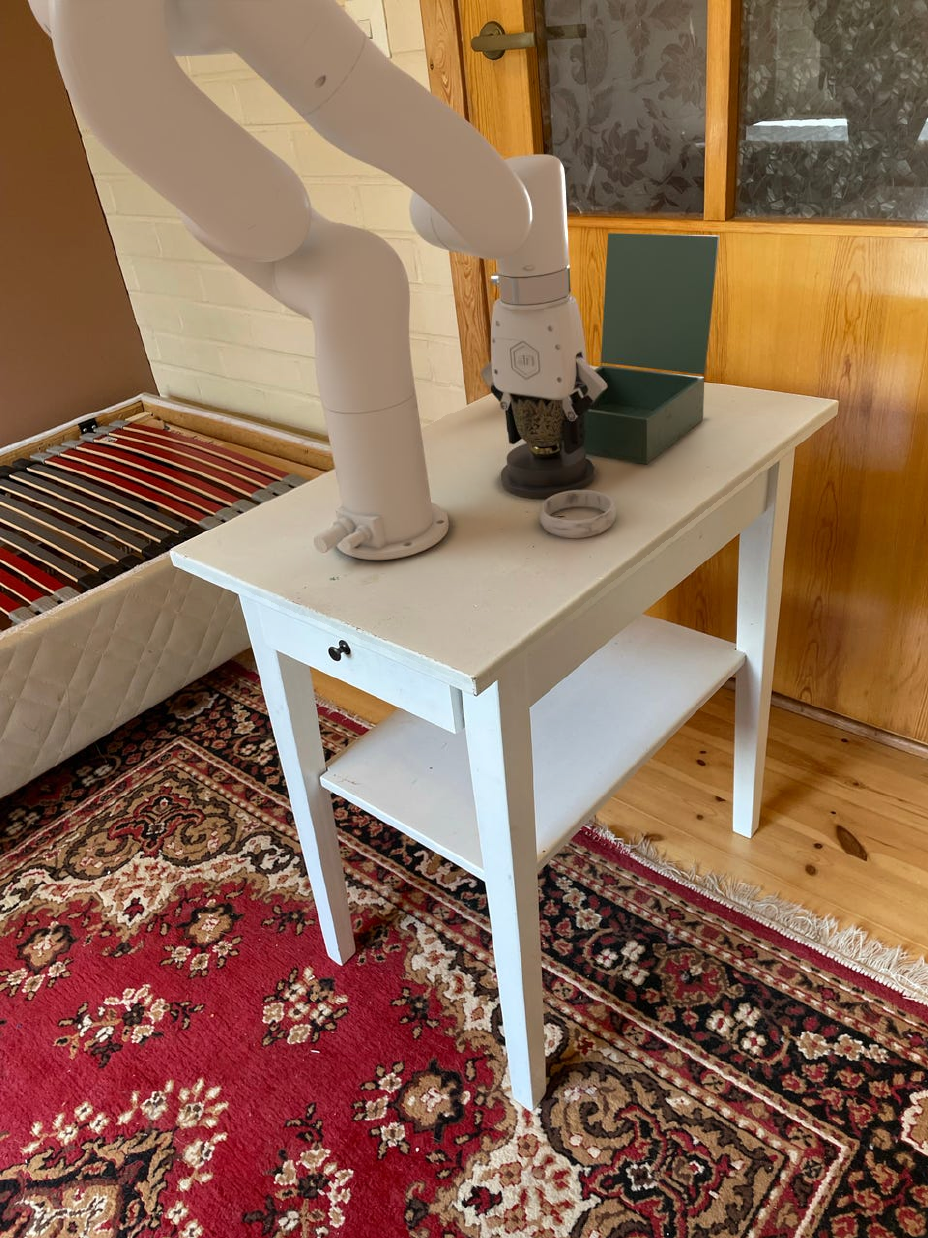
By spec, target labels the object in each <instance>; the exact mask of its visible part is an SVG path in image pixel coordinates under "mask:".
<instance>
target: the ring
mask: <svg viewBox="0 0 928 1238" xmlns="http://www.w3.org/2000/svg"><path fill="white" fill-rule="evenodd" d="M544 500H545V501H543V502H542V504H541V506H540V509H539V514H538V515H539V516H538V517H539V522H540V524H541V525H542V527H543V529H544V530H545V531H547V532H548V533H550V534H551V535H554V536H557V537H560V538H566V539H567V538H569V539H579V538H587V537H592V536H596V535H599V534H601V533H603V532H605V531H606V530H608V529H609V528H610V527H611V526H612V525H613V523H614V521H615V519H616V515H617V514H616V513H617V511H616V510H617V509H616V505H615V503H614V501H613V500H612V498H610V496H608V495H607V494H605V493H602V492H600V491H596V490H590V489H582V490H572V491H566V492H561V493H558V494H555V495H553V496H551V497H549V498H547V499H544ZM577 507H583V508H585V507H587V508H594V509H598V510H601V511H604V513H601V514H600V515H597V516H595V517H591V518H586V519H578V520H576V519H575V520H573V519H572V520H571V519H570V520H568V519H560V518H556V517H553V516H551V515H552V514H554V513H556V512H558V511H562V510H564V509H569V508H577Z"/></svg>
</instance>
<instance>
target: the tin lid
mask: <svg viewBox="0 0 928 1238" xmlns="http://www.w3.org/2000/svg"><path fill="white" fill-rule="evenodd" d="M719 245H720V235H701V234H699V235H698V234H697V235H696V234H661V233H660V234H659V233H626V232H625V233H623V232H622V233H621V232H608V233H607V245H606V262H605V263H606V265H605V281H604V283H605V284H604V300H603V314H602V315H603V317H602V332H601V333H602V334H601V335H602V337H601V351H600V353H601V354H600V363H601V364H608V365H609V364H610V365H615V366H616V365H618V366H624V367H625V366H626V367H633V368H635V367H636V368H644V369H650V370H651V369H652V370H660V371H671V372H678V373H686V374H696V375H706V371H707V362H708V353H709V352H708V351H709V342H710V333H711V323H712V313H713V303H714V293H715V286H716V285H715V282H716V274H717V266H718V265H717V264H718V255H719Z"/></svg>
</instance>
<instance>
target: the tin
mask: <svg viewBox="0 0 928 1238" xmlns="http://www.w3.org/2000/svg"><path fill="white" fill-rule="evenodd" d="M593 370H594V371H595V372H596V373H597V374H598V375H599V376H600V377H601V378H602V379H603V380H604V381H605V382H606V383H607V389H606V390H605V391H604V392H603V394H602V395H601V396H600V397H599V398H598V399H597V401H596V403H595V404H594V405H593V406H592V407H591V408H590V409H589V410H588V411H587V412H586V413H585V414H584V424H585V441H584V444H583V446H582V447H583V448H584V449H585V451H586V455H592V456H596V457H601V458H602V457H603V458H607V459H608V458H609V459H612V460H613V459H614V460H619V461H625V462H629V463H636V464H641V465H648V464H650V463H651V462H652V461H654V460H655V459H656V458H657V457H658V456H660V455H661V454H662V453H663V452H665V451H666V450H667V449H668V448H670V447H671V446H672V445H673V444H675V443H676V442H677V441H678V440H680V439H681V438H682V437H683V436H685V435H686V434H687V433H688V432H689V431H691V430H692V429H693V428H695V427H696V426H697V425H698V424H700V423H701V422H702V421H703V420H704V401H705V377H704V376H697V375H688V374H680V373H673V372H663V371H655V370H646V369H637V368H629V367H620V366H612V365H603V364H602V365H600V366H597V368H595V369H593ZM580 390H581V392H582V394H583V396H585V394H586V393H587V391H588V387H587V386H586V385H585V386H583V387H581V388H580Z"/></svg>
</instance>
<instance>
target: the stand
mask: <svg viewBox="0 0 928 1238" xmlns="http://www.w3.org/2000/svg"><path fill="white" fill-rule="evenodd" d="M561 444H562V450H561V452H560V454H559V455H557V456H555V457H553V458H547V459H542V458H537V457H535V456H534V455H533V454H532V453H531V451H530V447H531V445H530V444H528V443H526V442H525V443H522V444H520V445H517V446H516V447H514V448H513V449H511V450H510V451H509V452H508V453H507V455H506V464H505V466H503V467H502V469H501V471H500V475H499V477H500V484H501V486H502V488H503V489H504V491H506V492H508V493H509V494H512V495H514V496H517V497H520V498H525V499H533V500H535V499H536V500H547V499H548V498H549V497H551V496H553V495H555V494H558V493H561V492H566V491H572V490H585V489H586V488H587V487H589V486H590V485H591V484H592V483H593V481H594V479H595V476H596V475H595V465H594V463H593V462H592V461H591V460H590V459H588V458H587V454H586V451H585V449H584V448H583V447H582V446H581V447H580V448H579V449H577V450H576V451H575V452H573V453H572V454H566V453H565V451H564V441H562V442H561Z"/></svg>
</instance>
